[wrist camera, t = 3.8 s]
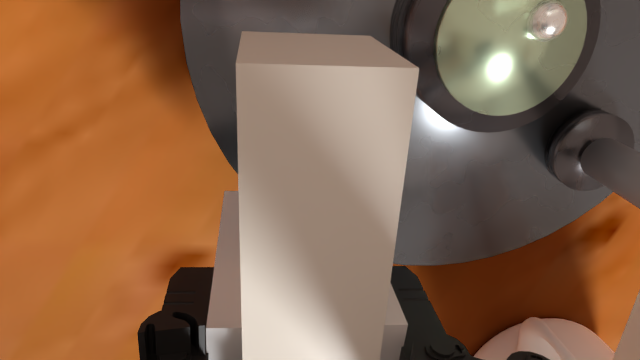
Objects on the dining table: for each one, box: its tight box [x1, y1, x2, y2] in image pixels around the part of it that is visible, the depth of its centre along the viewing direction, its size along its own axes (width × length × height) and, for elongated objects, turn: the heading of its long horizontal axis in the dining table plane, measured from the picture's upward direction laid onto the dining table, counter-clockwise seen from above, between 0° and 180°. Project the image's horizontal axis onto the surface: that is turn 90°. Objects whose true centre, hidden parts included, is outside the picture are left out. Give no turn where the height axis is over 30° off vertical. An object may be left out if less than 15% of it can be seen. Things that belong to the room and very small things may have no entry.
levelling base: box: [180, 0, 640, 265], centre depth 16 cm, size 20×20×5 cm
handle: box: [236, 31, 419, 360], centre depth 13 cm, size 9×3×9 cm, turn 177°
